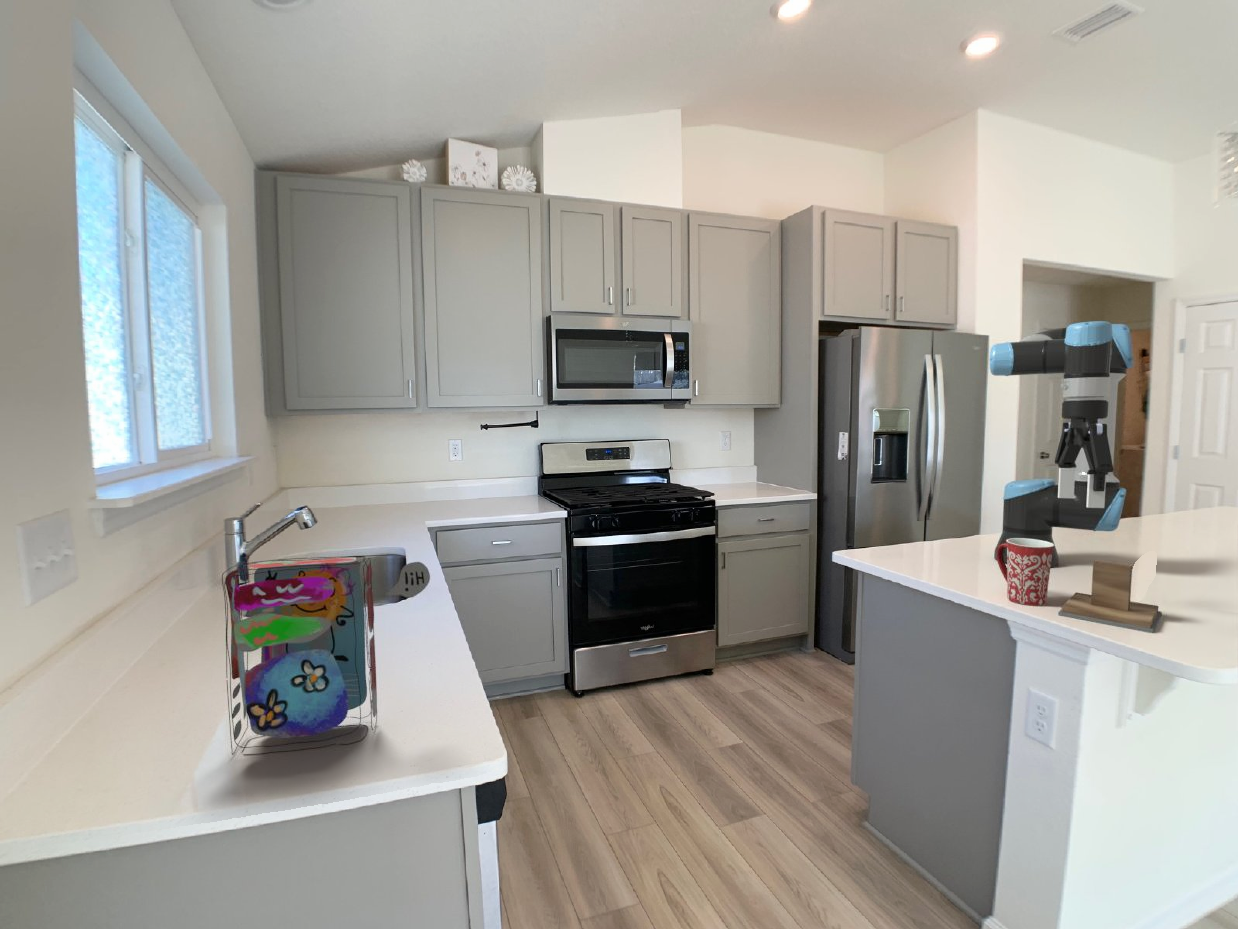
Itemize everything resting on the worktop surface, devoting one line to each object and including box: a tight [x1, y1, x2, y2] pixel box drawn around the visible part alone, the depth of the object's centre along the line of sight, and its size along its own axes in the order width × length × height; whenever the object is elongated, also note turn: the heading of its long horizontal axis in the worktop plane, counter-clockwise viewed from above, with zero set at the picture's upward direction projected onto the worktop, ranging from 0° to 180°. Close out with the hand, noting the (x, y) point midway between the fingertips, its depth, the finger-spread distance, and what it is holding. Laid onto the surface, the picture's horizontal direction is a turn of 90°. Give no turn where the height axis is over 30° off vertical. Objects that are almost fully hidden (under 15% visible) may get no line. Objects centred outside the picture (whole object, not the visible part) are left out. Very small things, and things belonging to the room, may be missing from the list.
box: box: [221, 555, 431, 756], centre depth 83 cm, size 25×6×24 cm, turn 102°
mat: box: [1057, 608, 1163, 634], centre depth 127 cm, size 15×15×1 cm
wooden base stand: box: [1061, 559, 1159, 629], centre depth 127 cm, size 14×14×10 cm
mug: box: [996, 538, 1055, 607], centre depth 138 cm, size 13×9×14 cm
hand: (1079, 502), depth 126 cm, fingers open, 13 cm apart
